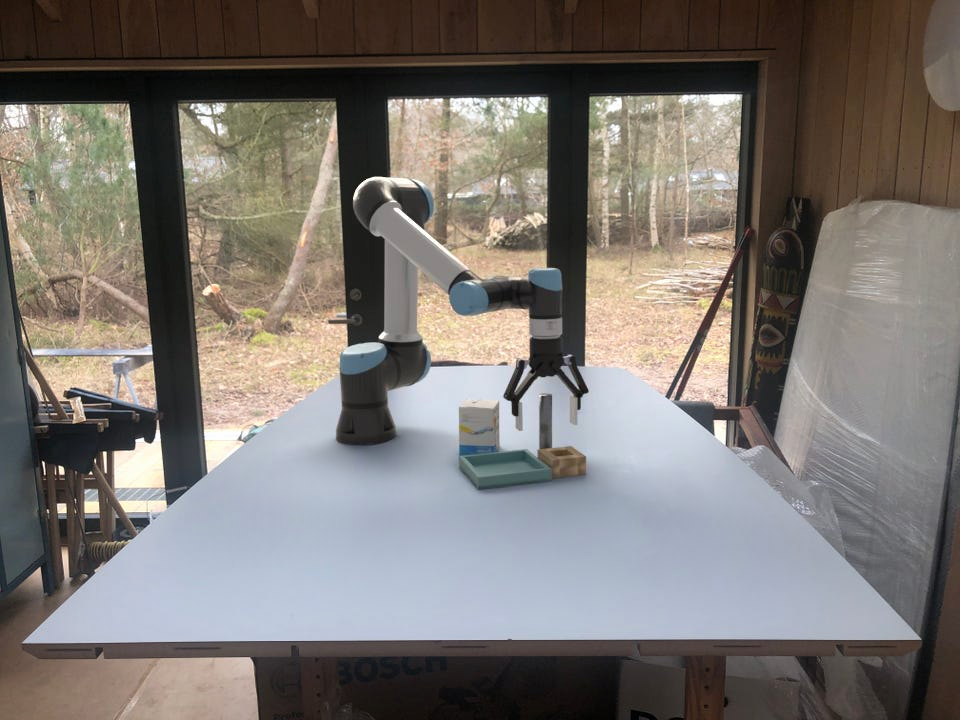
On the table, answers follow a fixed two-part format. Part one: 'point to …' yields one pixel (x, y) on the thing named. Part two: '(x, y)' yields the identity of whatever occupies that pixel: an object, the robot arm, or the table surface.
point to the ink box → (478, 427)
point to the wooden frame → (563, 461)
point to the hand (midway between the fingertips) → (546, 426)
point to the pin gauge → (545, 421)
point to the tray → (504, 469)
